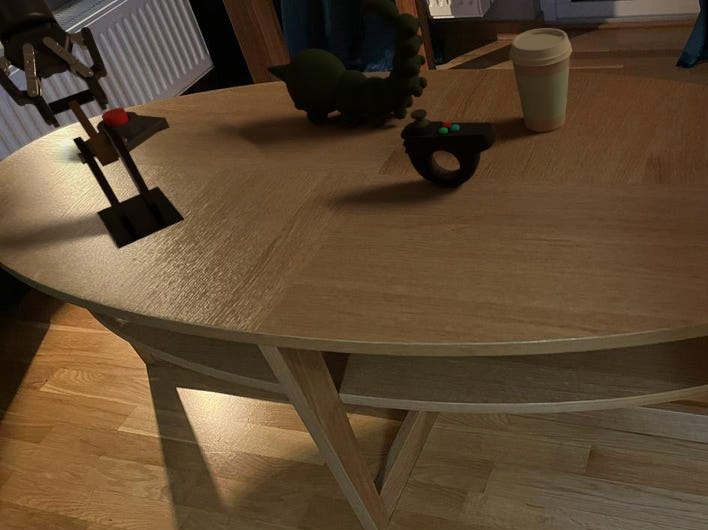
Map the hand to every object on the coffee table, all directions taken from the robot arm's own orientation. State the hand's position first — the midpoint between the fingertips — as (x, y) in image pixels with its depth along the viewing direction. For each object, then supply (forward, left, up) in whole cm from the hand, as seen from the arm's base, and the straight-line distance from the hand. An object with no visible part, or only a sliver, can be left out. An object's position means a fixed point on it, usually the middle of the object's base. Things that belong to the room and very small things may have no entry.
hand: (80, 115), depth 94 cm
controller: (+14, -47, -13) cm, 51 cm away
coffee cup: (+32, -53, -13) cm, 64 cm away
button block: (+14, +14, -13) cm, 24 cm away
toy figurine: (+28, -23, -13) cm, 39 cm away
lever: (-2, -3, -2) cm, 4 cm away
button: (+14, +14, -9) cm, 22 cm away
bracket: (-4, -7, -13) cm, 15 cm away
